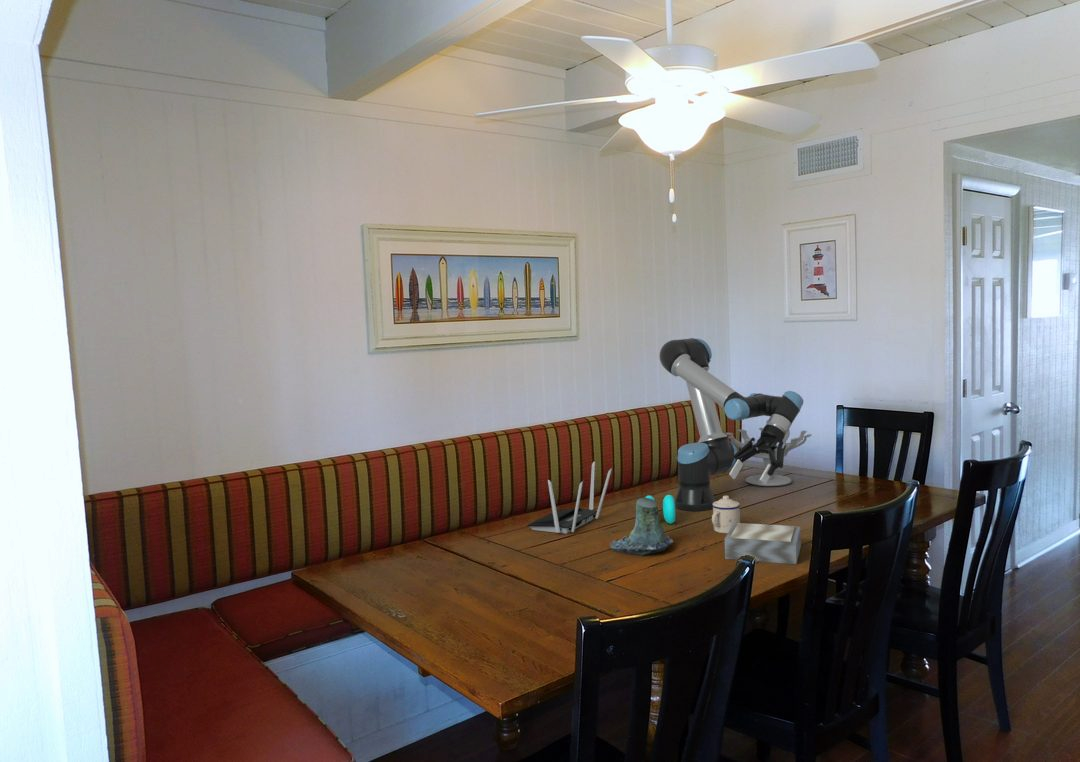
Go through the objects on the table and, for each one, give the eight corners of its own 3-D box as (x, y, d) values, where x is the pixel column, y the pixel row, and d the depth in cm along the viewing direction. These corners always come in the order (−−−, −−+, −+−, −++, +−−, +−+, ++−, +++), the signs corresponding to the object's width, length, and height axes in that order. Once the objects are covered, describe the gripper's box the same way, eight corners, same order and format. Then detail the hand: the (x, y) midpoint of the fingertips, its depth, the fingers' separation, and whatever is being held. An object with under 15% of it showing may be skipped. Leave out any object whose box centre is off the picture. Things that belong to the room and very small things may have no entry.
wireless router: (565, 511, 289) (563, 459, 288) (621, 517, 277) (618, 463, 276) (518, 535, 260) (515, 477, 259) (577, 542, 248) (574, 482, 247)
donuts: (676, 526, 261) (675, 498, 260) (647, 527, 261) (645, 499, 261) (673, 519, 271) (671, 491, 270) (644, 520, 271) (643, 492, 271)
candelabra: (830, 486, 309) (828, 420, 307) (753, 495, 300) (751, 427, 298) (782, 471, 342) (780, 411, 340) (712, 479, 333) (710, 417, 331)
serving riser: (725, 558, 224) (724, 537, 223) (734, 541, 240) (733, 521, 240) (796, 564, 216) (795, 541, 216) (800, 545, 233) (800, 525, 232)
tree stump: (651, 536, 253) (658, 484, 247) (683, 568, 234) (692, 513, 229) (599, 541, 246) (605, 488, 241) (627, 575, 227) (635, 519, 222)
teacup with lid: (723, 525, 260) (722, 491, 259) (746, 529, 253) (745, 495, 252) (702, 532, 252) (700, 498, 251) (724, 537, 245) (723, 502, 244)
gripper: (810, 440, 255) (781, 491, 248) (753, 433, 276) (725, 480, 269) (799, 426, 251) (770, 477, 244) (742, 421, 272) (714, 468, 266)
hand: (746, 479), depth 257 cm, fingers open, 13 cm apart
